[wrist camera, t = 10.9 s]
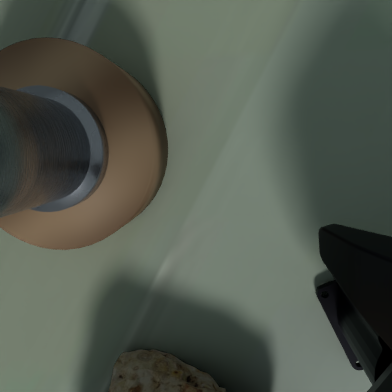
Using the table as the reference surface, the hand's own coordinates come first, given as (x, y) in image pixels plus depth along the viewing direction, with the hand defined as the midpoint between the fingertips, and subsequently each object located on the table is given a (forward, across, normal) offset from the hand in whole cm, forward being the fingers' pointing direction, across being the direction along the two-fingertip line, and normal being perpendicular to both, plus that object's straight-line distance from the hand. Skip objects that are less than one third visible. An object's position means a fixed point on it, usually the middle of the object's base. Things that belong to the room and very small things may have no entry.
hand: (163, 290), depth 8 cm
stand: (+16, +4, -1) cm, 16 cm away
